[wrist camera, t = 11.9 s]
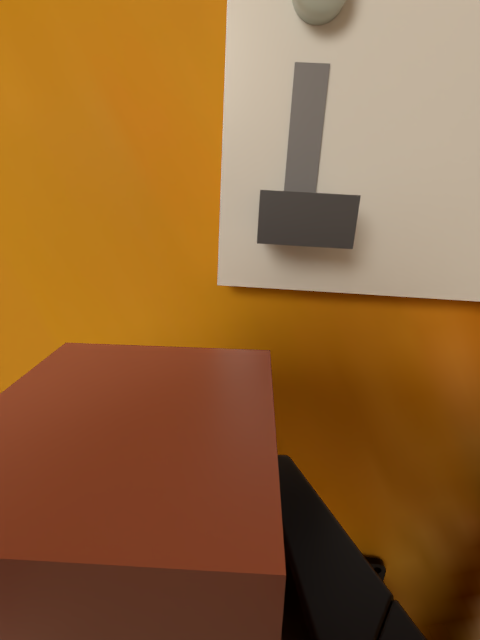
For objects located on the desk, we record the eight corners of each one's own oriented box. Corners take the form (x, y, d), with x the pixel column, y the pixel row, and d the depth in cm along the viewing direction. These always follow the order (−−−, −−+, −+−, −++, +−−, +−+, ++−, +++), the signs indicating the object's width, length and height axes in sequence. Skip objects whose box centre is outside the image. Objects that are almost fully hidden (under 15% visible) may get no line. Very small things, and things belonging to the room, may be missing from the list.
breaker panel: (575, 296, 17) (642, 319, 14) (221, 275, 18) (214, 292, 15) (677, 1, 14) (796, -53, 11) (232, -17, 14) (225, -74, 11)
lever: (334, 238, 15) (352, 249, 12) (257, 233, 15) (256, 243, 12) (340, 194, 14) (360, 195, 11) (260, 190, 14) (260, 189, 12)
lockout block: (261, 513, 9) (265, 836, 5) (87, 504, 10) (-79, 807, 5) (269, 350, 8) (285, 575, 3) (65, 342, 8) (-196, 547, 4)
